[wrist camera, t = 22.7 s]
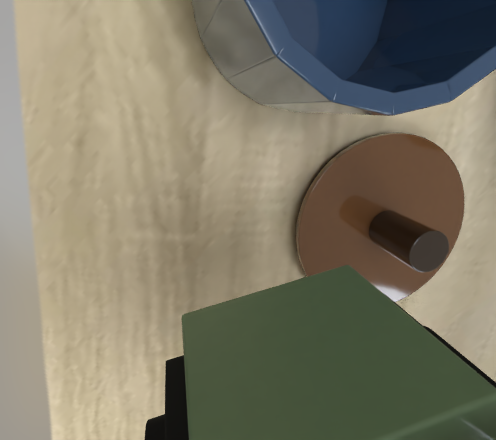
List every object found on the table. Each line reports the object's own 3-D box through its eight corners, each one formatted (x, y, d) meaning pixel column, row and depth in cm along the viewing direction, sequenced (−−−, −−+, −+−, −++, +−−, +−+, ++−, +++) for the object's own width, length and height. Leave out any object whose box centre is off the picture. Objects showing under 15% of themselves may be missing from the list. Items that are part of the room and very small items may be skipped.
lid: (451, 274, 30) (514, 310, 24) (305, 320, 28) (339, 372, 22) (454, 113, 25) (532, 115, 20) (279, 156, 23) (313, 171, 18)
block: (363, 392, 12) (493, 577, 7) (222, 443, 11) (261, 687, 6) (348, 263, 10) (506, 393, 5) (180, 313, 9) (191, 515, 5)
